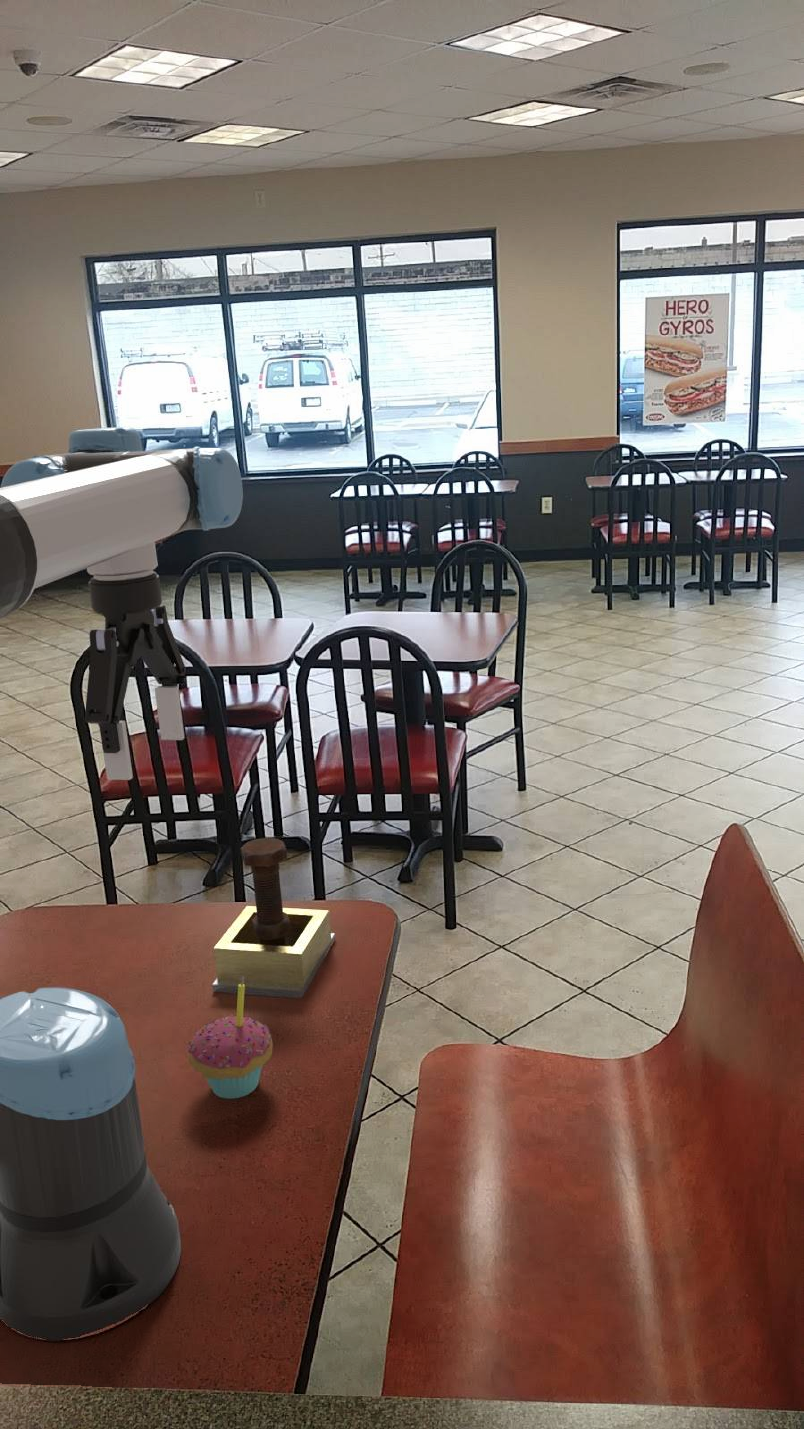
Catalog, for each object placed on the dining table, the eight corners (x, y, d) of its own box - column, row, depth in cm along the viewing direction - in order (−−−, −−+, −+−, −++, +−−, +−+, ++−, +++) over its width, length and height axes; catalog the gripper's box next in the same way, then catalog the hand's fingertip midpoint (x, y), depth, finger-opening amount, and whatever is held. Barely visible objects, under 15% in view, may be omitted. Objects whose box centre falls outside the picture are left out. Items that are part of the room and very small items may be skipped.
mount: (300, 998, 129) (297, 960, 127) (213, 991, 132) (208, 954, 130) (335, 940, 142) (332, 905, 140) (254, 935, 145) (251, 900, 143)
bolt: (250, 951, 138) (238, 840, 134) (289, 943, 140) (278, 833, 136) (258, 973, 133) (246, 858, 129) (299, 964, 134) (288, 851, 130)
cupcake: (262, 1052, 119) (251, 953, 115) (288, 1095, 112) (277, 990, 108) (183, 1076, 116) (170, 975, 112) (205, 1122, 108) (191, 1015, 105)
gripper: (142, 556, 133) (164, 724, 139) (30, 596, 110) (62, 796, 116) (200, 554, 131) (219, 725, 137) (98, 595, 108) (127, 798, 114)
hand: (147, 758), depth 126 cm, fingers open, 13 cm apart
